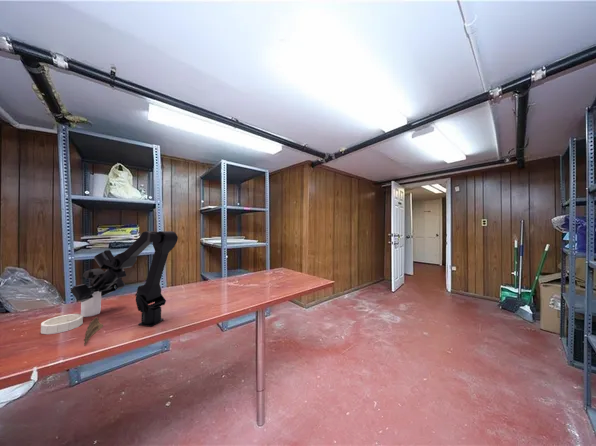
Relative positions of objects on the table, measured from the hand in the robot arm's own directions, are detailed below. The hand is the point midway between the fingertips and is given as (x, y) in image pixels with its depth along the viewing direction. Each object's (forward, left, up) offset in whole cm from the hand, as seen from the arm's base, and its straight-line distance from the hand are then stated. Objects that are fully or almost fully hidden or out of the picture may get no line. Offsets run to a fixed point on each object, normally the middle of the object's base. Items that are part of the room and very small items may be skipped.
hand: (89, 299), depth 97 cm
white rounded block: (-1, 0, -7) cm, 7 cm away
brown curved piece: (-23, +15, -7) cm, 28 cm away
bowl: (-4, +12, -7) cm, 14 cm away
